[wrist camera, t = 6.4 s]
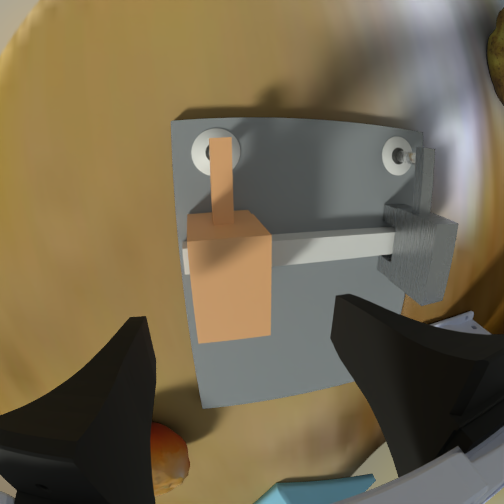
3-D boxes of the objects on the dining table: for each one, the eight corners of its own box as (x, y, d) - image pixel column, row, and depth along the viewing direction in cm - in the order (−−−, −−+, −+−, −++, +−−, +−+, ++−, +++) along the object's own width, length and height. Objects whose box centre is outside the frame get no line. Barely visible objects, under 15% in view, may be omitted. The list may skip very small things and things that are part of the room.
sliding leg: (246, 137, 17) (271, 135, 12) (249, 286, 20) (270, 335, 15) (183, 140, 16) (180, 139, 11) (194, 292, 20) (198, 343, 14)
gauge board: (414, 132, 20) (434, 133, 18) (379, 366, 28) (390, 380, 25) (171, 122, 17) (169, 119, 15) (201, 400, 24) (203, 419, 22)
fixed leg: (408, 146, 19) (465, 154, 14) (396, 267, 22) (442, 300, 17) (387, 143, 19) (443, 150, 14) (376, 270, 22) (421, 305, 17)
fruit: (87, 410, 21) (127, 485, 16) (162, 393, 27) (210, 454, 22) (91, 454, 23) (127, 516, 18) (154, 438, 29) (194, 490, 24)
